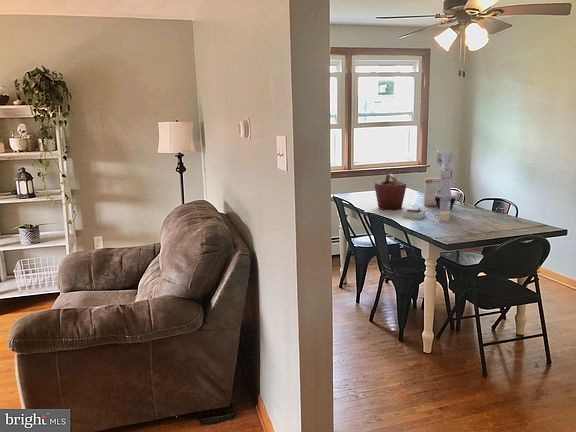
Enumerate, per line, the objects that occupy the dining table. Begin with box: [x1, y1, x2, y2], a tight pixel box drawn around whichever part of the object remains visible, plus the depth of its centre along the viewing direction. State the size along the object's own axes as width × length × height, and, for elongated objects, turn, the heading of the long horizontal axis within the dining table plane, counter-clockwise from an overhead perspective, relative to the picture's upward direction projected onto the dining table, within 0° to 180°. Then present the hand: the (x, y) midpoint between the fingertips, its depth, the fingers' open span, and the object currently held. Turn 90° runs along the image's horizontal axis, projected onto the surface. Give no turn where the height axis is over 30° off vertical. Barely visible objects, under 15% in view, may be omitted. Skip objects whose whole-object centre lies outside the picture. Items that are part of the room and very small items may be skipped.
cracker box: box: [423, 177, 440, 207], centre depth 353 cm, size 14×6×21 cm, turn 84°
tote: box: [402, 208, 426, 220], centre depth 320 cm, size 11×12×4 cm
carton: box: [438, 211, 451, 222], centre depth 309 cm, size 8×6×5 cm
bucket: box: [374, 173, 407, 211], centre depth 348 cm, size 24×22×25 cm
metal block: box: [408, 206, 421, 213], centre depth 319 cm, size 8×6×5 cm
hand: (444, 209), depth 308 cm, fingers open, 7 cm apart
